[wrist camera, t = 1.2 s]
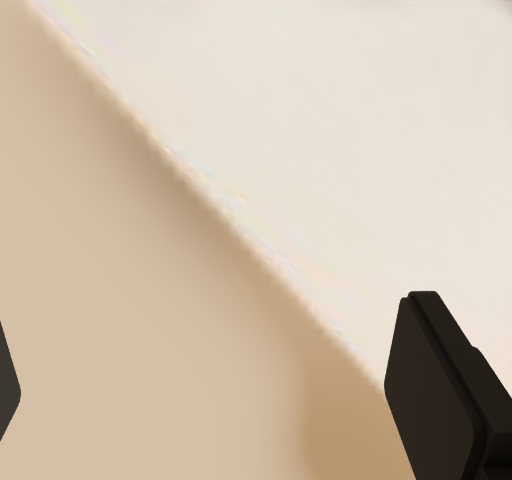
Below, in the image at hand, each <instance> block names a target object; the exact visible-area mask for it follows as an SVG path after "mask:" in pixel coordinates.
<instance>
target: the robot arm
mask: <svg viewBox="0 0 512 480" xmlns="http://www.w3.org/2000/svg"><path fill="white" fill-rule="evenodd" d="M384 390H385V395H386V399H387V401H388V404H389V407H390V410H391V412H392V415H393V418H394V421H395V423H396V426H397V428H398V431H399V434H400V437H401V440H402V442H403V445H404V448H405V451H406V453H407V456H408V459H409V462H410V464H411V467H412V470H413V472H414V475H415V478H416V480H512V398H511V397H510V395H509V394H508V392H507V391H506V389H505V388H504V386H503V385H502V383H501V382H500V380H499V379H498V377H497V376H496V374H495V372H494V371H493V369H492V368H491V366H490V365H489V363H488V362H487V360H486V359H485V357H484V356H483V354H482V353H481V352H480V351H479V350H478V349H477V348H475V347H473V346H472V345H471V344H470V342H469V341H468V339H467V338H466V336H465V335H464V333H463V331H462V330H461V328H460V327H459V325H458V324H457V322H456V321H455V319H454V318H453V316H452V315H451V313H450V311H449V310H448V308H447V307H446V305H445V304H444V302H443V301H442V299H441V298H440V296H439V294H438V293H437V292H435V291H411V292H409V294H408V297H406V298H402V299H401V300H400V304H399V309H398V314H397V319H396V324H395V329H394V335H393V340H392V345H391V350H390V355H389V360H388V365H387V370H386V375H385V381H384ZM20 397H21V389H20V385H19V382H18V379H17V375H16V372H15V369H14V365H13V362H12V358H11V355H10V352H9V348H8V345H7V342H6V338H5V335H4V332H3V328H2V325H1V322H0V441H1V439H2V437H3V435H4V433H5V431H6V429H7V427H8V425H9V423H10V421H11V419H12V417H13V415H14V413H15V411H16V409H17V407H18V404H19V402H20Z"/></svg>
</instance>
